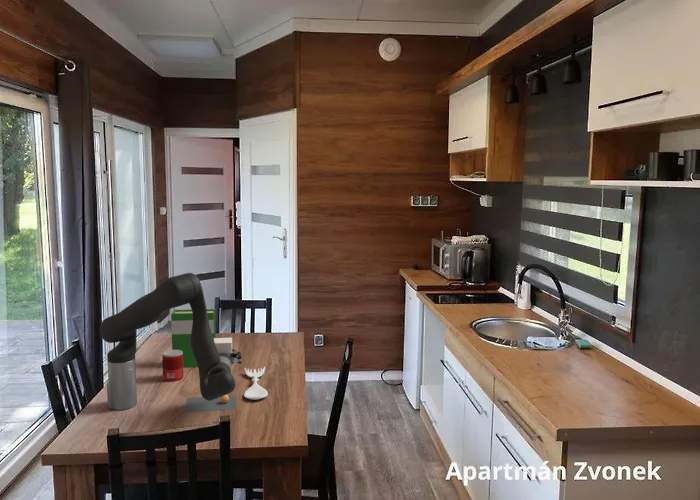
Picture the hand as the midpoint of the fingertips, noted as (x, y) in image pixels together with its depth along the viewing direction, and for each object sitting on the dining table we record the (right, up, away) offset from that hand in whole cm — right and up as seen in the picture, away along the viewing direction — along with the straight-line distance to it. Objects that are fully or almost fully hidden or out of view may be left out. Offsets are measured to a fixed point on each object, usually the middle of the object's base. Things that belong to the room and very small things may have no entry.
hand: (223, 351), depth 200 cm
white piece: (+9, -17, +17) cm, 26 cm away
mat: (-4, -19, -1) cm, 20 cm away
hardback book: (-22, -14, +41) cm, 49 cm away
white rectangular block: (0, -6, -1) cm, 6 cm away
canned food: (-26, -16, +25) cm, 39 cm away
